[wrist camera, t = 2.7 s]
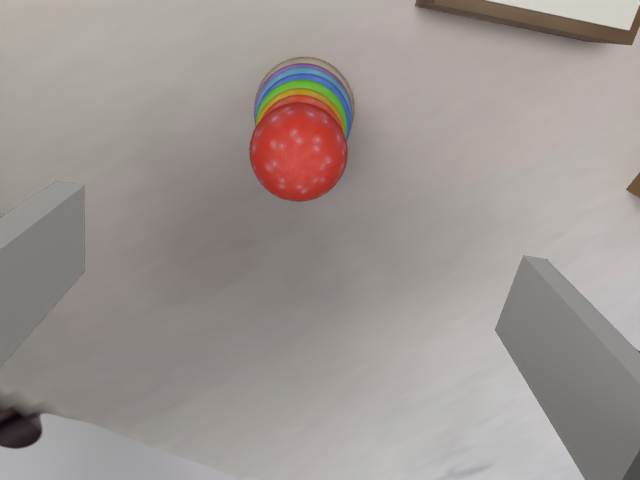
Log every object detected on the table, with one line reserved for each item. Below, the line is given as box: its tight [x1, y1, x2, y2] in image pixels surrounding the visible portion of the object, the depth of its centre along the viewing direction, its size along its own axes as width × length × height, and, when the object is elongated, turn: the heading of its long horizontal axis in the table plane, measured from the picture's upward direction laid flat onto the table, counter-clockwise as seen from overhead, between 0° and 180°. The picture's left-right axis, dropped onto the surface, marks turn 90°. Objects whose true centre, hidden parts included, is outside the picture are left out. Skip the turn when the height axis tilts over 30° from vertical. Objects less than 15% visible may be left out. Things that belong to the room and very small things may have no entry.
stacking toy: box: [250, 57, 354, 202], centre depth 33 cm, size 8×8×19 cm
